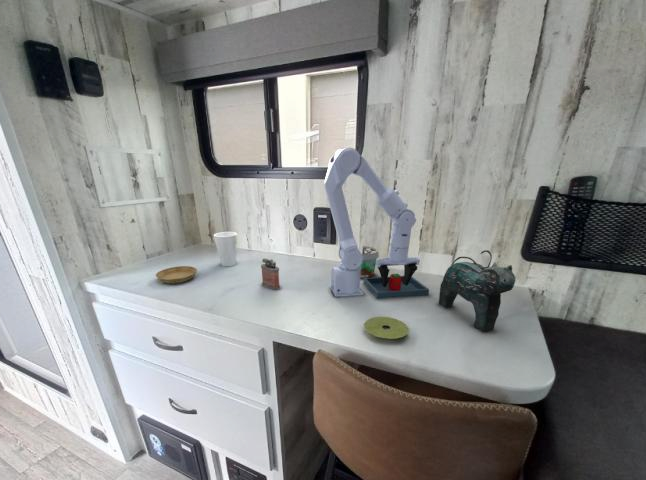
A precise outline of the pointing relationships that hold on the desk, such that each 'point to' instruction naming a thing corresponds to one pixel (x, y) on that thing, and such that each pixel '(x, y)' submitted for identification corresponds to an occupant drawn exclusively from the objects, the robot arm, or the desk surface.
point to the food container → (368, 262)
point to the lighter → (270, 274)
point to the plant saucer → (176, 274)
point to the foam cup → (226, 247)
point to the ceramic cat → (477, 289)
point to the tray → (405, 291)
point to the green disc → (386, 327)
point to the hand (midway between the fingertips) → (394, 285)
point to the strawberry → (395, 282)
